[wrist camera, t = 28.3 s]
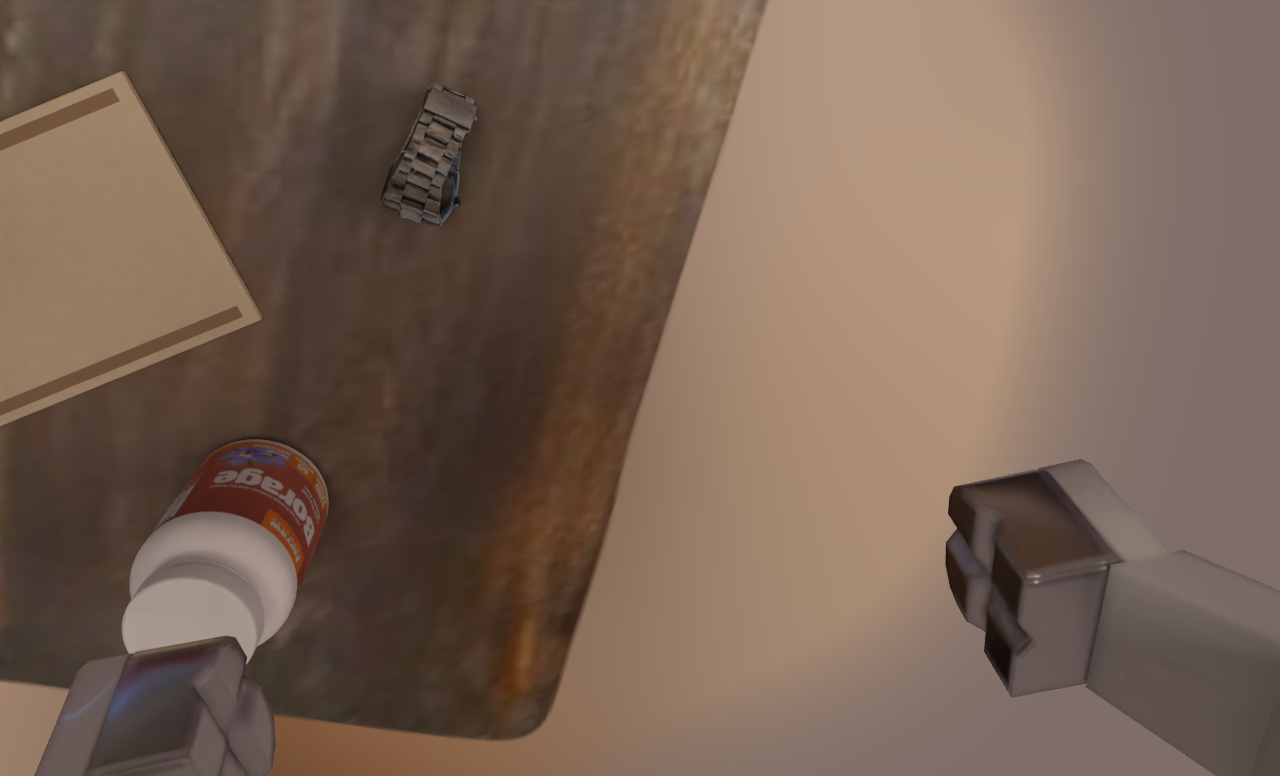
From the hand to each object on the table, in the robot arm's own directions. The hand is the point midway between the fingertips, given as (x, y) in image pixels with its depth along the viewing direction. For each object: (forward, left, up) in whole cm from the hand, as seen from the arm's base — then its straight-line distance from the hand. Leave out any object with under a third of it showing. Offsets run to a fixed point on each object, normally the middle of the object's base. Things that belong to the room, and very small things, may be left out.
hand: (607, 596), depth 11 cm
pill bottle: (-18, -9, -33) cm, 39 cm away
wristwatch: (-4, +2, -33) cm, 34 cm away
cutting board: (-24, +4, -33) cm, 41 cm away
